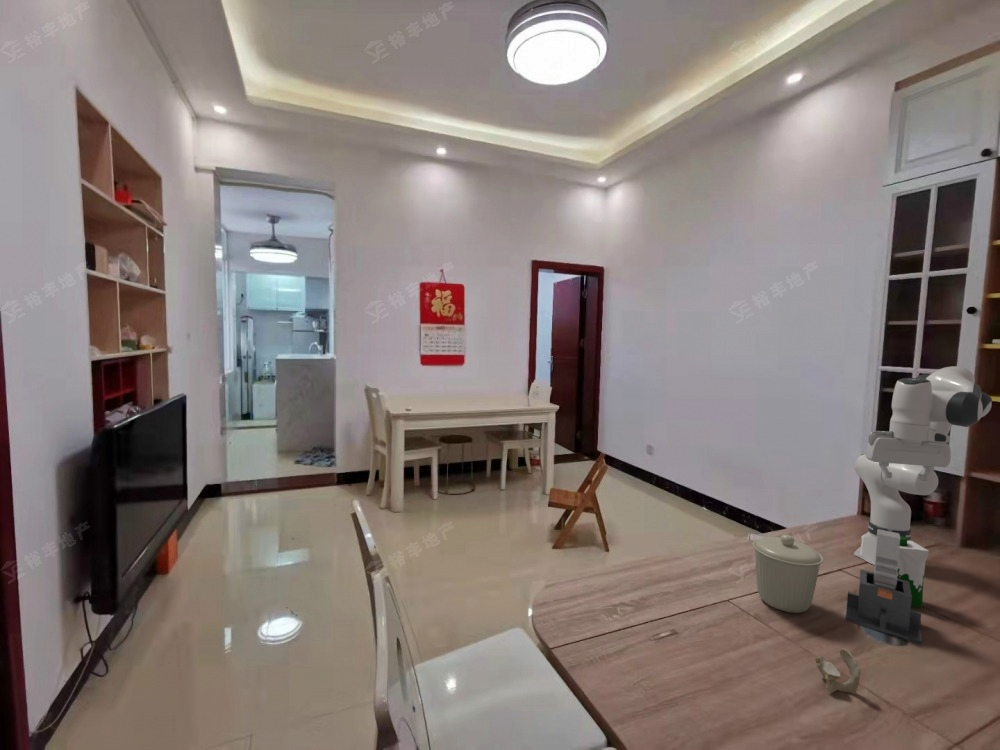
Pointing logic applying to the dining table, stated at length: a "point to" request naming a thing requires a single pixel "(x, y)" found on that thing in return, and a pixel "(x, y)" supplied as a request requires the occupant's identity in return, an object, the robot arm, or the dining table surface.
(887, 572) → the column
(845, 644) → the dining table surface
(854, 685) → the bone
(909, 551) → the milk carton
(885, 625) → the stand
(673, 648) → the dining table surface
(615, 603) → the dining table surface
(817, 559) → the canister
